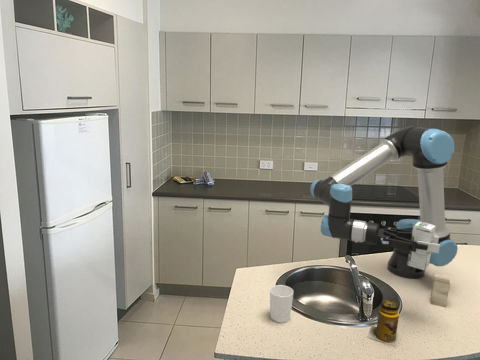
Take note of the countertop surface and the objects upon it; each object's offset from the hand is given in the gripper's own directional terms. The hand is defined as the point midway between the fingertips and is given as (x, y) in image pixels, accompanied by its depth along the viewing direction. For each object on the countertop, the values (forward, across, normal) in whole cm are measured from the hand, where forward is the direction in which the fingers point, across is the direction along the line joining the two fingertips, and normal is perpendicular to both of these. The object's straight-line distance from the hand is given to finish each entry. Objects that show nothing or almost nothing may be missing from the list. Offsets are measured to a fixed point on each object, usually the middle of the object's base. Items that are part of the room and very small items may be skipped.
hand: (438, 244), depth 128 cm
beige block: (+4, -15, -28) cm, 32 cm away
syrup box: (-5, 0, -9) cm, 10 cm away
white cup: (-46, +21, -28) cm, 58 cm away
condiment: (-13, +16, -28) cm, 35 cm away
